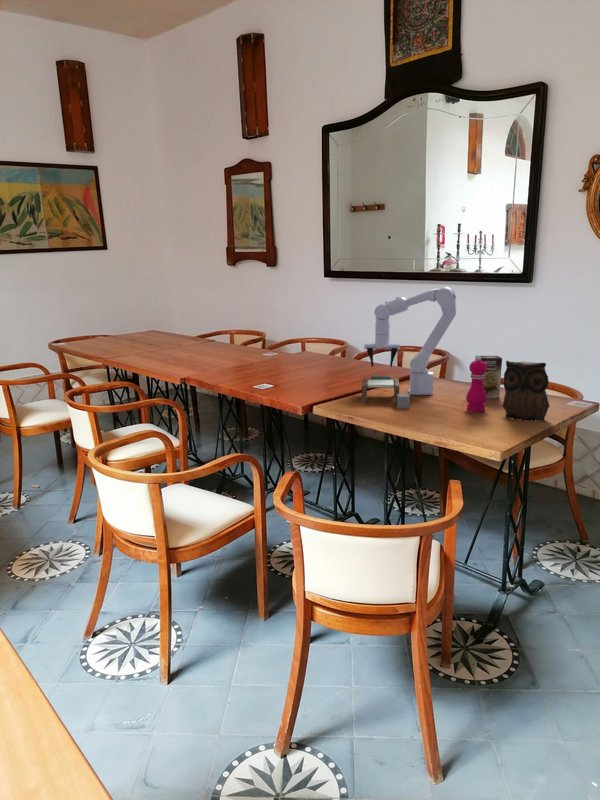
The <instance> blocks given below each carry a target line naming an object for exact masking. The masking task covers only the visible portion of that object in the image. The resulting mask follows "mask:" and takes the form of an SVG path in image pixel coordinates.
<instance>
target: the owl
mask: <svg viewBox="0 0 600 800" xmlns="http://www.w3.org/2000/svg"><path fill="white" fill-rule="evenodd" d="M505 364H506V365H505V366H506V367H505V368H506V369H505V371H504V374H503V387H504V390H505V391H504V393H505V394H504V397H503V402H502V408H503V409H504V410H505V411H504V412H505V415H504V417H505V416H506V417H505V418H507V419H510V418H513V419H512V420H519V419H521V420H520V421H527V420H529V421H528V422H536V421H535V420H541V421H545V417H546V416H547V413H548V410H549V408H550V403H549V399H548V395H547V391H546V390H547V388H548V387H549V382H550V381H549V376H548V374H547V371H546V366H547V363H546V362H534V361H529V362H528V361H509V360H506V361H505ZM531 420H532V421H531Z"/></svg>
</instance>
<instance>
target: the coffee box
mask: <svg viewBox="0 0 600 800" xmlns="http://www.w3.org/2000/svg"><path fill="white" fill-rule="evenodd" d="M477 356H478V355H475V356H474V357H475V359H474V361H475V360H476V357H477ZM479 356H480V357H481V361H483V362H485V363H486V365H487V370H486V372H485V373H484V374H485V378H484V379H483V388H484V390H485V393H486V396H487V399H493V398H492V397H499V398H500V393H501V381H502V380H501V379H502V368H503V367H502V366H503V357H501V356H499V355H479Z"/></svg>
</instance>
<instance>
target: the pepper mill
mask: <svg viewBox="0 0 600 800" xmlns="http://www.w3.org/2000/svg"><path fill="white" fill-rule="evenodd" d="M476 356H477V357H476V360H475V359H474V360H473V361H471V362H470V364H469V371H470V379H471V384H470V387H469V389H468V391H467V392H466V395H465V396H466V397H465V400H466V402H467V403H468V404H467V405H466V411H468V412H470V411H471V413H483V412H485V410H486V406H485V403H486V402H487V400H488V398H487V396H486V393H485V390H484V388H483V379H484V378H485V374H484V373H485V372H486V370H487V365H486V363H485V362H483V361H481V357H480V356H481V355H476Z"/></svg>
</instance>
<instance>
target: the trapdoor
mask: <svg viewBox="0 0 600 800" xmlns="http://www.w3.org/2000/svg"><path fill="white" fill-rule="evenodd" d="M367 383H368V387H389V388H390V389H394V379H392V377H391V375H370V378H367ZM389 388H388V389H389Z"/></svg>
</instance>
